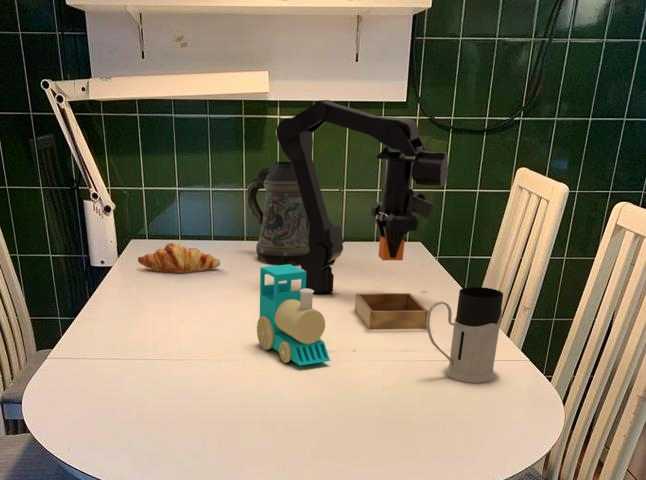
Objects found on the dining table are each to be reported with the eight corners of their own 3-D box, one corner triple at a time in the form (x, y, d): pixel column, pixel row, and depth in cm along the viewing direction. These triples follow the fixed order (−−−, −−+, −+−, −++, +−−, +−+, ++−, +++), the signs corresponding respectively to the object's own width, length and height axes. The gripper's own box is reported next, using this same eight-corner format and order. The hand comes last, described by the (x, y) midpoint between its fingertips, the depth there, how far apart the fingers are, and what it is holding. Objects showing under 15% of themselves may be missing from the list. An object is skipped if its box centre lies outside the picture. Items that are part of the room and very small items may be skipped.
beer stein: (316, 267, 220) (320, 167, 208) (243, 264, 220) (244, 165, 208) (314, 253, 235) (318, 160, 223) (246, 251, 235) (247, 158, 223)
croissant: (219, 279, 219) (219, 249, 219) (221, 269, 209) (221, 238, 209) (138, 278, 216) (138, 248, 216) (137, 268, 206) (136, 236, 206)
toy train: (295, 371, 148) (298, 288, 141) (255, 344, 161) (256, 267, 154) (333, 365, 152) (338, 284, 145) (291, 339, 164) (293, 263, 157)
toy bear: (382, 260, 183) (385, 225, 179) (378, 256, 186) (381, 221, 183) (402, 260, 183) (406, 225, 180) (398, 256, 187) (401, 221, 183)
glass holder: (503, 380, 147) (516, 297, 140) (431, 386, 143) (441, 302, 136) (479, 364, 154) (491, 284, 147) (410, 370, 150) (418, 288, 143)
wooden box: (368, 331, 170) (370, 312, 168) (354, 312, 183) (355, 293, 181) (426, 331, 172) (428, 311, 170) (408, 311, 184) (410, 293, 183)
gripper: (446, 189, 170) (437, 265, 177) (421, 176, 186) (414, 246, 194) (394, 188, 169) (387, 265, 176) (373, 176, 185) (368, 246, 192)
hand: (390, 255), depth 184 cm, fingers closed on toy bear, 4 cm apart
